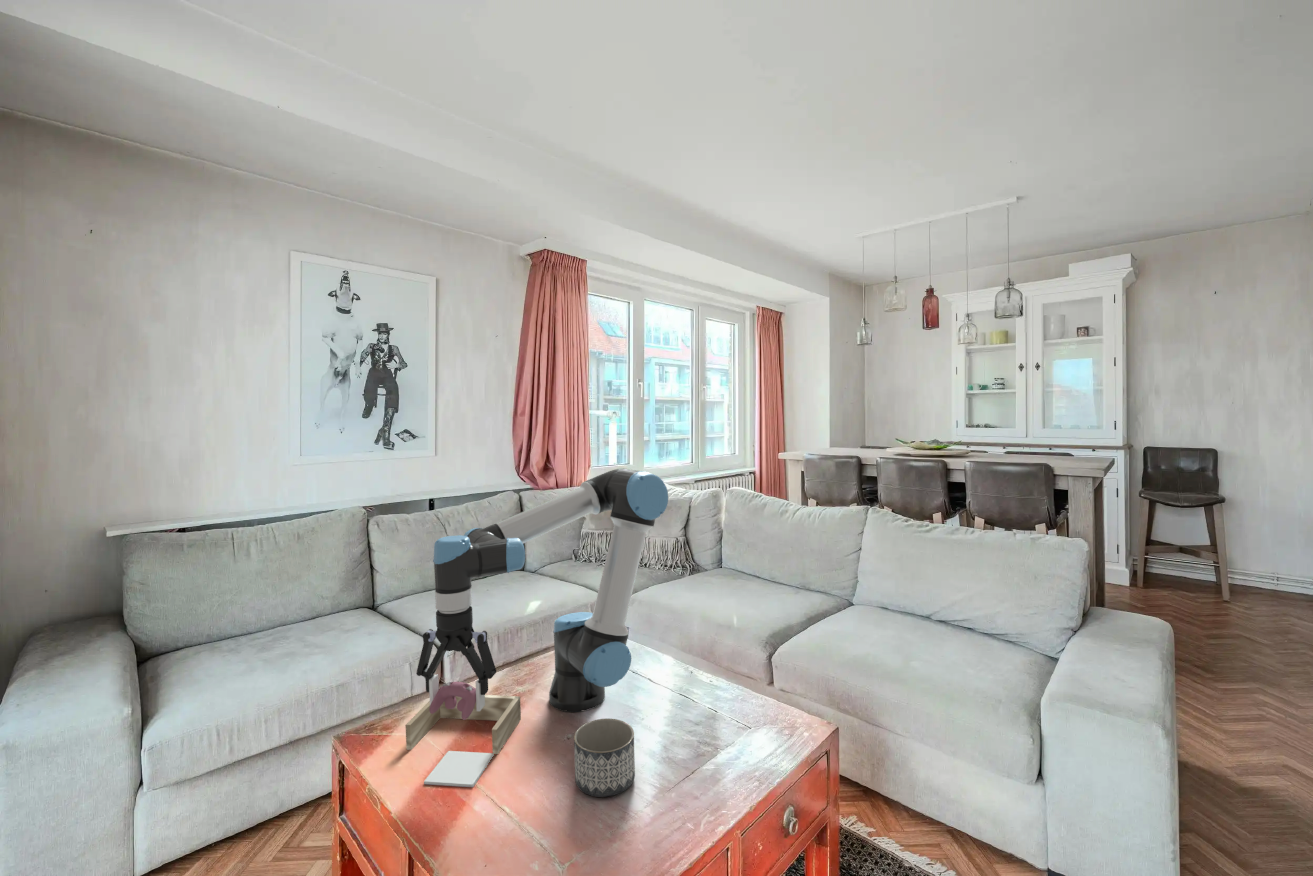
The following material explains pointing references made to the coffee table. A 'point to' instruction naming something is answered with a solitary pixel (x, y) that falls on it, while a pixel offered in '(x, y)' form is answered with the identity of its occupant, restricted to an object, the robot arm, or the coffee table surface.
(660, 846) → the coffee table surface
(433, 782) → the pad
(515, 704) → the bay
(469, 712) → the video game controller
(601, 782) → the planter
